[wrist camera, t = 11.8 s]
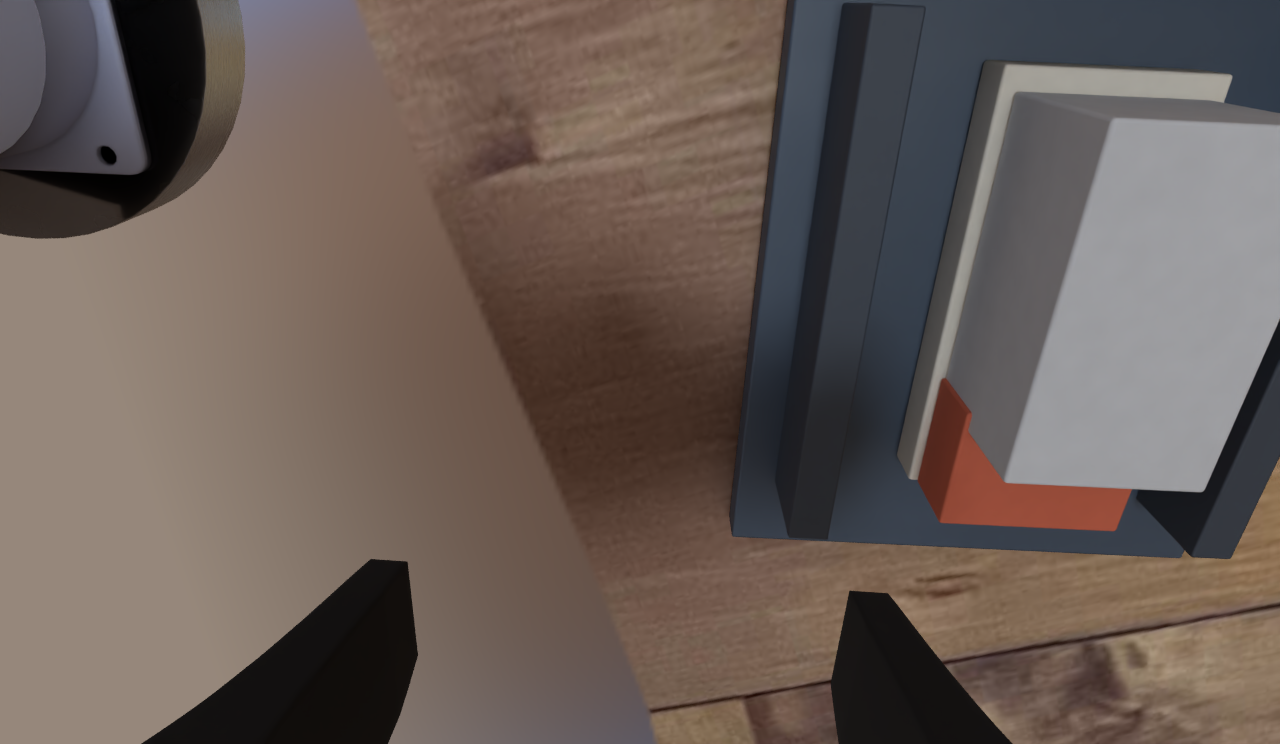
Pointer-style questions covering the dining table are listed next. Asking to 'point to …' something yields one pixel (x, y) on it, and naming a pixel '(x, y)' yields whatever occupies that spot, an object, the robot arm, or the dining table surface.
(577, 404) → the dining table surface
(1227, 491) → the dark grey flat tray
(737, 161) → the dining table surface
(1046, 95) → the white box
